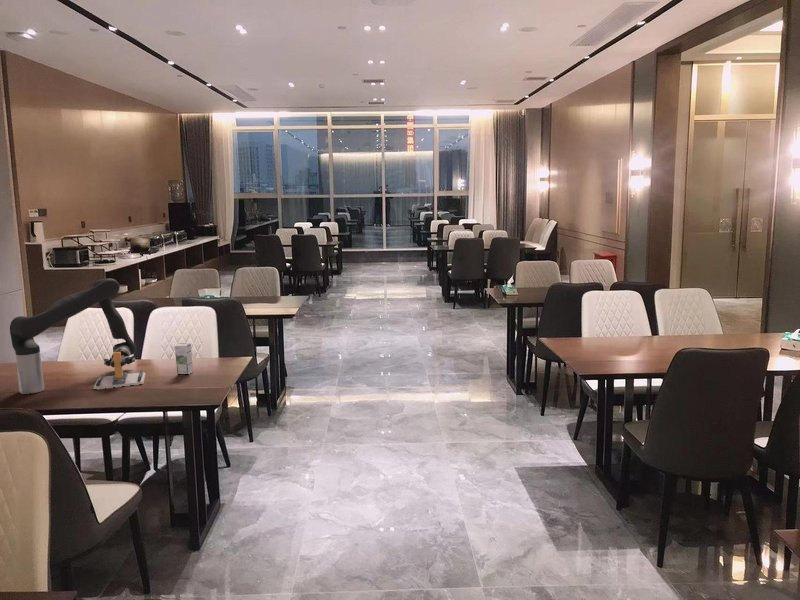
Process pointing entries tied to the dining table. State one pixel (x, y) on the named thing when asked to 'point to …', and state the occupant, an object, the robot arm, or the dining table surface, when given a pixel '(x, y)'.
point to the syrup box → (183, 358)
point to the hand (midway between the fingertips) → (117, 364)
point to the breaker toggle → (118, 366)
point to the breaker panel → (120, 380)
